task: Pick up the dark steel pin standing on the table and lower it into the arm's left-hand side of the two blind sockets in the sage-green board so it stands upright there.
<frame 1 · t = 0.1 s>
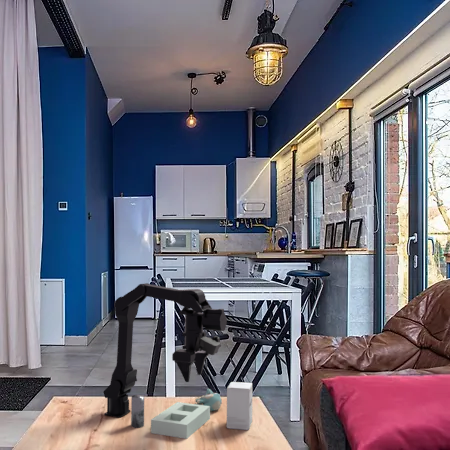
hand: (193, 378, 154), 15 cm above the table, fingers open, 9 cm apart
stuffed animal: (207, 408, 170), on the table
socket board: (181, 425, 152), on the table
steel pin: (137, 425, 152), on the table
supplement box: (239, 425, 153), on the table
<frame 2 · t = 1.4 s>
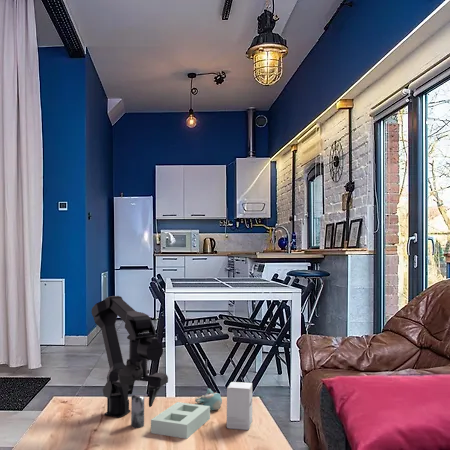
hand: (137, 404, 153), 6 cm above the table, fingers open, 9 cm apart
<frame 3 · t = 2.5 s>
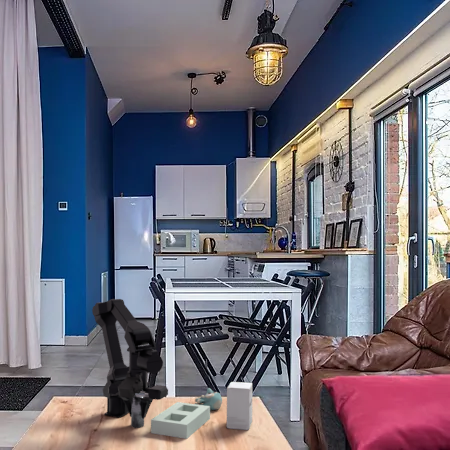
hand: (137, 417, 152), 3 cm above the table, fingers closed on steel pin, 4 cm apart
steel pin: (137, 425, 152), on the table, touching gripper
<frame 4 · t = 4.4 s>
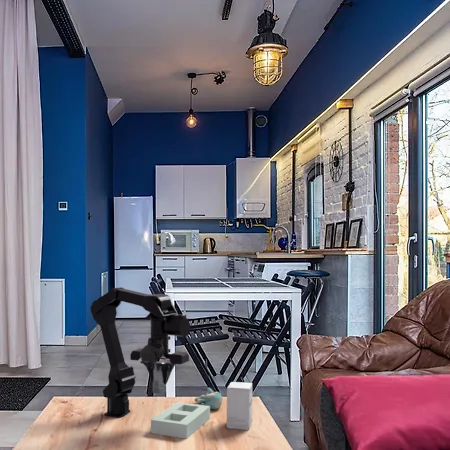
hand: (159, 383, 154), 13 cm above the table, fingers closed on steel pin, 4 cm apart
steel pin: (159, 391, 154), point 10 cm above the table, touching gripper
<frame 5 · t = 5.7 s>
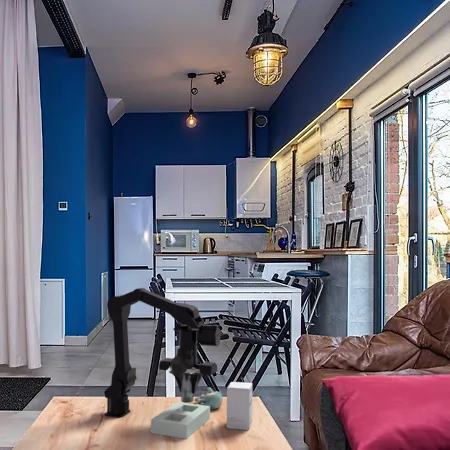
hand: (187, 392, 157), 9 cm above the table, fingers closed on steel pin, 4 cm apart
steel pin: (187, 400, 157), point 6 cm above the table, touching gripper
when the fingers open (5 cm above the table, at t = 6.7 s): steel pin drops 1 cm, resting on socket board.
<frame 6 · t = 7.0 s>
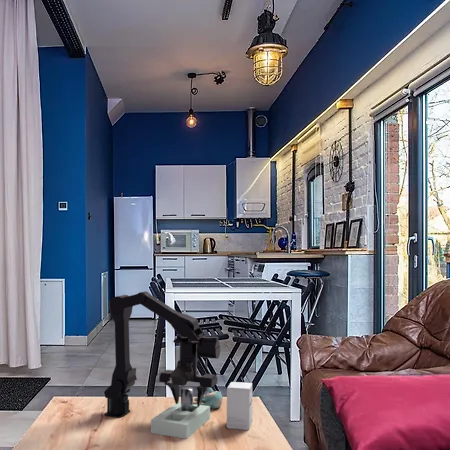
hand: (187, 405, 157), 5 cm above the table, fingers open, 7 cm apart
steel pin: (187, 417, 157), point 1 cm above the table, touching socket board
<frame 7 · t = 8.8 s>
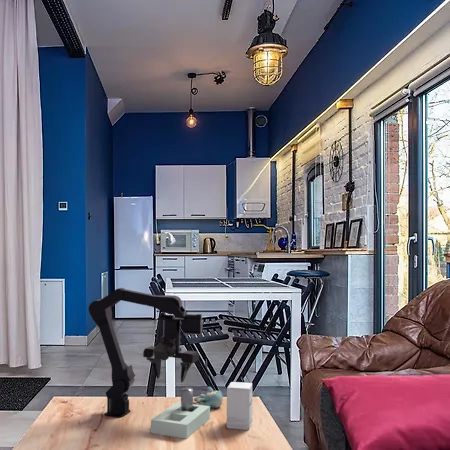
hand: (170, 380, 162), 12 cm above the table, fingers open, 9 cm apart
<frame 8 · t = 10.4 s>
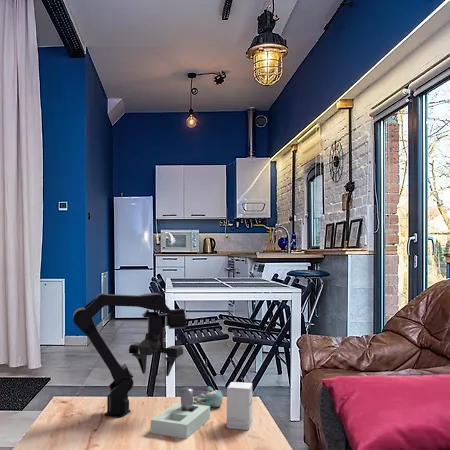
hand: (155, 374, 168), 12 cm above the table, fingers open, 9 cm apart
at the end: steel pin 0.1 cm from the target spot on the socket board, point 1.2 cm above the socket board's base; steel pin tilted 2°; the gripper is holding nothing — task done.
